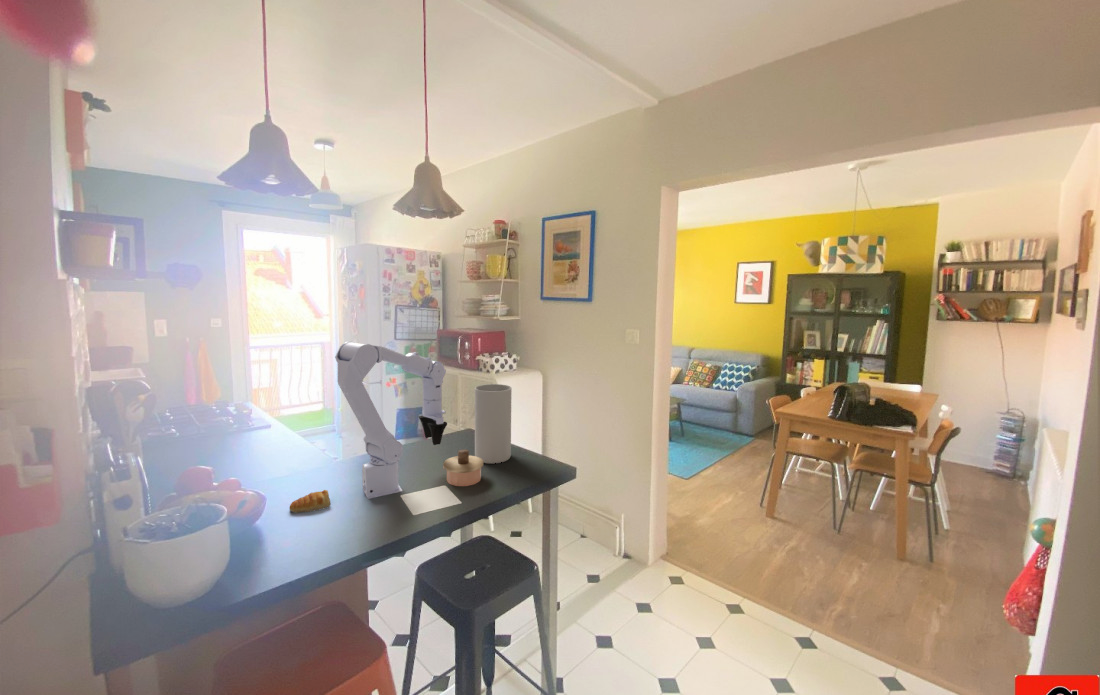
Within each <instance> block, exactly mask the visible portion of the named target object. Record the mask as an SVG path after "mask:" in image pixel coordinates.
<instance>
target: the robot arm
mask: <svg viewBox="0 0 1100 695" xmlns="http://www.w3.org/2000/svg"><path fill="white" fill-rule="evenodd" d="M334 358H335V361H336V362H337V384H338V386H339V388H340V389H341V392H342V393H343V395H344V398H345V399H346V401H347V403H348V405H349V406H350V408H351V410H352V412H353V415H354V416H355V418H356V420H357V421H358V423H359V426H361V429H362V430H363V432H364V435H365V436H364V437H363V441H364V443H365V444H364V445H365V452H366V453H367V455H369V457H370V459H369V460H370V461H369V462H367V463H364V464H362V468H361V469H362V470H361V473H362V474H361V476H362V491H363V493H364V495H365V497H366V499H373V498H377V497H381V496H388V495H391V494H396V493H400V492H401V493H402V492H404V491H403V489H402V488H401V486H400V485H399V462H400V458H402V455H403V453H404V446H403V444H402V443H401V441H399V440H397V439H396V438H395V436H394V434H392V432H390V431H389V430H388V429H387V428H386V426H385V424H384V422H383V420H382V418H381V416H380V414H379V412H378V411H377V408H376V406H375V404H374V403H373V401H372V399H371V396H370V394H369V392H368V391H367V389H366V387H365V385H364V383H363V381H364V379H365V378H366V376H367V375H368V374H369V373H370V371H372V369H373V368H374V366H375V365H376V364H379V363H381V362H382V361H384V362H386V363H390V364H393V365H397V366H401V369H402V371H403V372H406V373H408V374H411V375H415V376H419V377H420V378H422V409H421V410H422V411H421V412H422V413H421V414H422V415H418V418H419V419H418V420H419V421H420V423H421V426H422V429H423V430H422V431H423V433H424V434H423V435H424V437H425V439H429V438H431V440H432V441H431V442H432V444H433V446H436V445H441V443H442V440H443V434H444V431H445V429H446V427H447V426H448V422H447V421H444V416H443V414H446V411H445V410H444V409H443V408H442V407H443V400H442V399H443V393H442V391H443V390H442V388H443V386H442V385H443V383H444V378H445V375H446V372H447V370H446V369H445V366H444V364H443V363H442V362H441V361H438V360H432V358H431V357H428V356H427V357H424V356H421V355H420V353H419V352H415V351H413V352H408V353H406V354H405V355H404V353H403V354H402V353H400V352H397V351H394V350H392V349H390V348H387V347H385V346H381V345H380V346H379V345H373V344H370V343H365V344H364V343H359V342H358V343H357V342H353V341H346V342H344V343H342V344H341V345H340V346H339V348H338V350H337V351H336V353H335V356H334Z"/></svg>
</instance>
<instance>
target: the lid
mask: <svg viewBox="0 0 1100 695" xmlns="http://www.w3.org/2000/svg"><path fill="white" fill-rule="evenodd" d="M442 467H443V470H445V471H446V472H447V471H449V472H454V473H467V472H473V471H476V470H478V469H480V468H481V469H482V468H483V467H484V463H483V460H482V459H481V458H479V457H476V456H475V455H470V450H468V449H459V450H458V451H457V456H452V457H449V458H447V459H446V460H443V464H442Z"/></svg>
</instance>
